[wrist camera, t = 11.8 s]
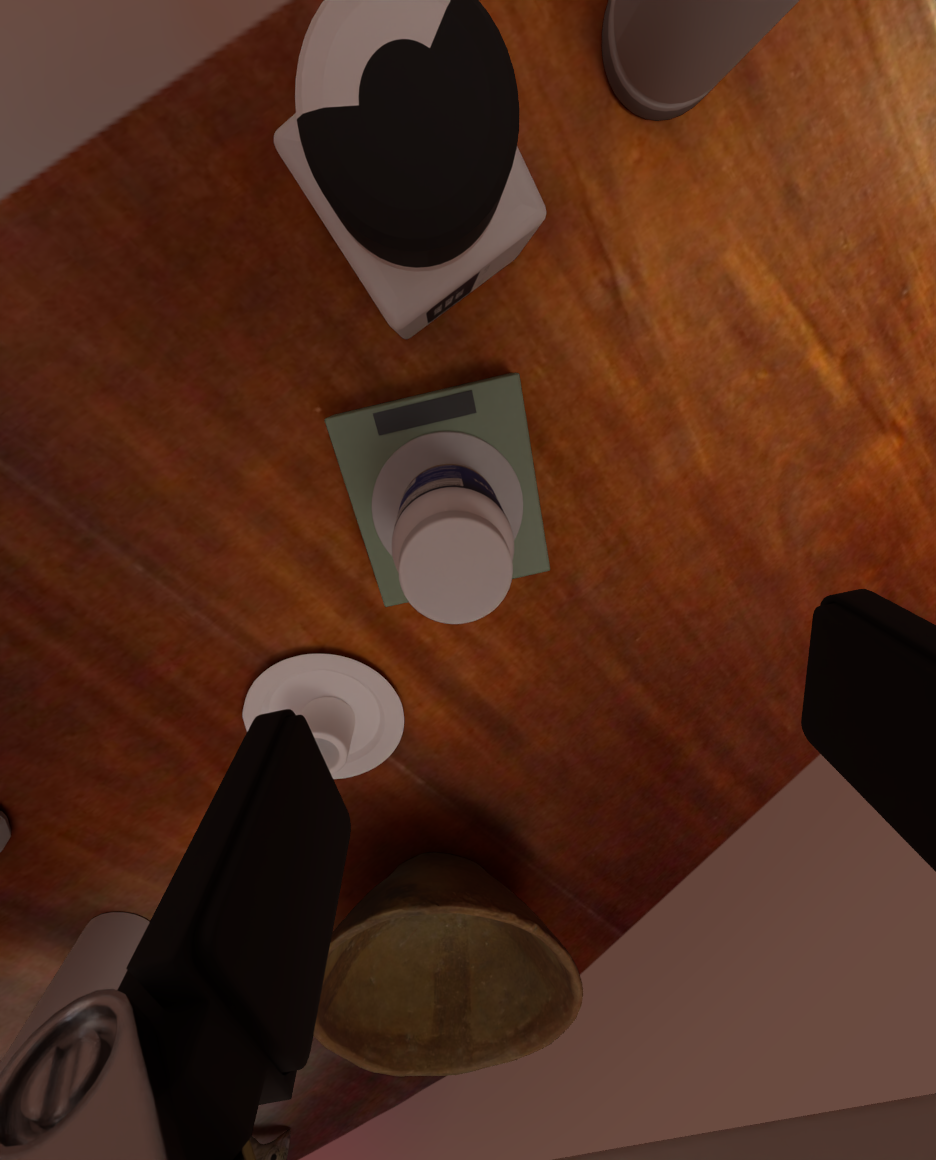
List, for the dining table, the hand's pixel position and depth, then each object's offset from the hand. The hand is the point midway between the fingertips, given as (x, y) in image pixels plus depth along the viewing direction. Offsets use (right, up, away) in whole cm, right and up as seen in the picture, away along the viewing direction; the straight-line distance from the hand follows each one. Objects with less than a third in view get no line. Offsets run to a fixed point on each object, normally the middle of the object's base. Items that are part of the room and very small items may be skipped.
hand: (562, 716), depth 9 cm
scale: (-3, +8, +22) cm, 24 cm away
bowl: (-4, -27, +37) cm, 46 cm away
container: (-4, +21, +17) cm, 27 cm away
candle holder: (-13, -8, +29) cm, 32 cm away
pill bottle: (-3, +7, +20) cm, 21 cm away
